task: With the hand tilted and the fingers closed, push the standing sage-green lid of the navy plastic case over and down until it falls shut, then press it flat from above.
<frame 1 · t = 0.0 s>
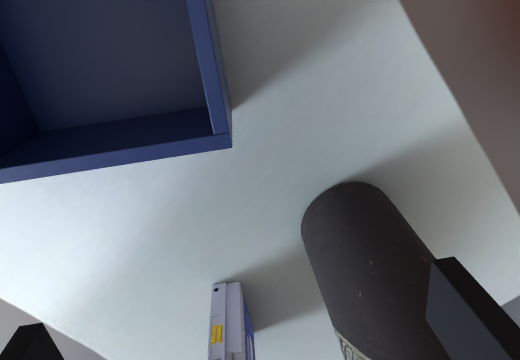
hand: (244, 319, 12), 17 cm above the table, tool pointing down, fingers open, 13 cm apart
case: (108, 36, 23), on the table
container: (345, 218, 32), on the table
walkman: (233, 309, 36), on the table
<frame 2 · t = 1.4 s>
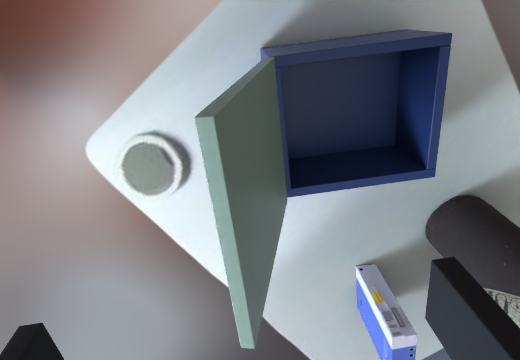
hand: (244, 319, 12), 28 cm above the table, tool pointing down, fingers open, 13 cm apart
case: (334, 102, 37), on the table
container: (455, 220, 45), on the table
walkman: (365, 284, 49), on the table
case lid: (260, 176, 22), point 16 cm above the table, hinge at 105.1°
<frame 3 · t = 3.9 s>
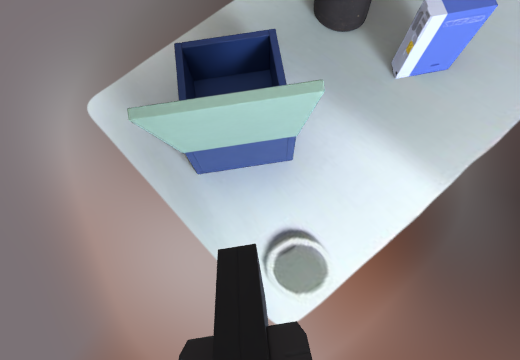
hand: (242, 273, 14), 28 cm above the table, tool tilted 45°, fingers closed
case: (238, 118, 48), on the table
container: (339, 11, 53), on the table
walkman: (418, 67, 50), on the table
case lid: (234, 125, 30), point 16 cm above the table, hinge at 105.1°
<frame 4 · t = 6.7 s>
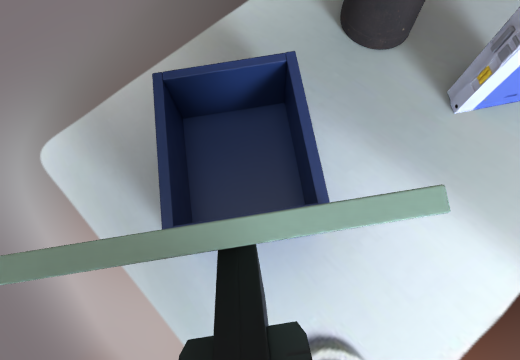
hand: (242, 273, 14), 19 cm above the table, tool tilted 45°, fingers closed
case: (243, 170, 35), on the table
container: (373, 22, 41), on the table
walkman: (484, 97, 37), on the table
case lid: (239, 227, 17), point 16 cm above the table, hinge at 102.2°, touching gripper
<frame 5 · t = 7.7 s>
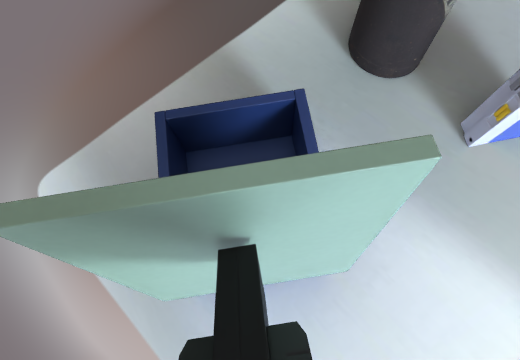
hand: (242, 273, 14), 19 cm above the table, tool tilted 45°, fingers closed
case: (248, 207, 34), on the table
container: (383, 49, 39), on the table
walkman: (499, 129, 36), on the table
case lid: (243, 251, 17), point 16 cm above the table, hinge at 82.2°, touching gripper
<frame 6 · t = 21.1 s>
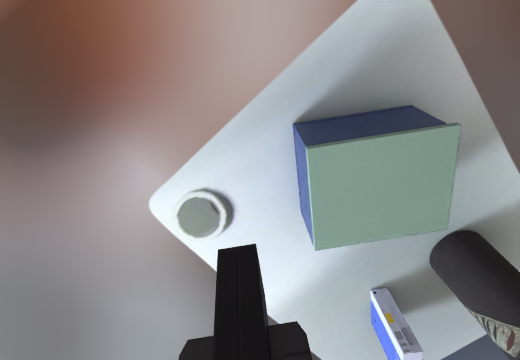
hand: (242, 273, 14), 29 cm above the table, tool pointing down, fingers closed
case: (352, 161, 45), on the table
container: (455, 250, 53), on the table
walkman: (378, 304, 57), on the table
case lid: (381, 190, 37), point 8 cm above the table, hinge at -0.2°
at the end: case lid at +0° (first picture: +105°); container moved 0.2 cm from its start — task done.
